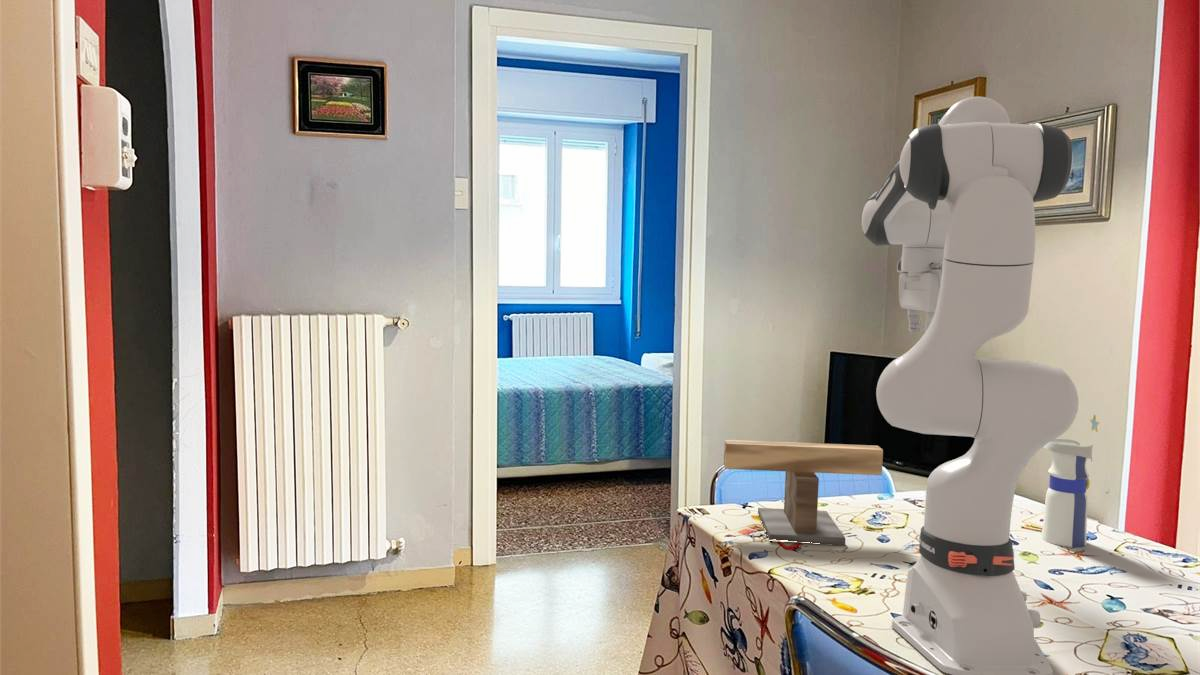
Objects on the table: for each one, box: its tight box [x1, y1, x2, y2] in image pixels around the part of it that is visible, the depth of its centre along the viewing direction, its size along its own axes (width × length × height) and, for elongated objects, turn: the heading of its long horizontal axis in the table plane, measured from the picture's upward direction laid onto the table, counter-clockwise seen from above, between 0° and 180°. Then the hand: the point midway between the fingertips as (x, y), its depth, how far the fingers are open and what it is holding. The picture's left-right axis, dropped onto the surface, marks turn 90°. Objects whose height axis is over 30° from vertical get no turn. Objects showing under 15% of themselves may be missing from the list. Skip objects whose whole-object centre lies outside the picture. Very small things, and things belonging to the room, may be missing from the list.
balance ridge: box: [757, 471, 846, 546], centre depth 166 cm, size 18×14×12 cm
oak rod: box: [723, 439, 884, 476], centre depth 165 cm, size 4×30×5 cm, turn 86°
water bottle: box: [1041, 414, 1100, 548], centre depth 163 cm, size 8×9×25 cm
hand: (921, 333), depth 165 cm, fingers open, 8 cm apart
